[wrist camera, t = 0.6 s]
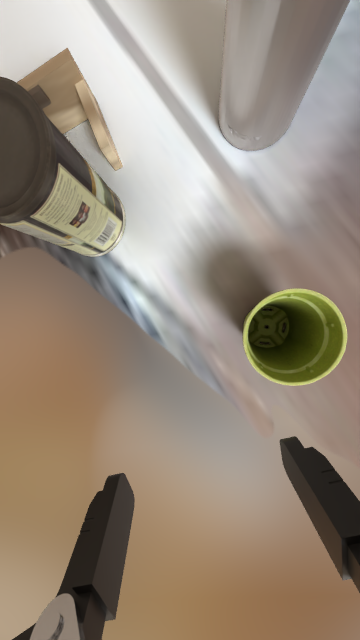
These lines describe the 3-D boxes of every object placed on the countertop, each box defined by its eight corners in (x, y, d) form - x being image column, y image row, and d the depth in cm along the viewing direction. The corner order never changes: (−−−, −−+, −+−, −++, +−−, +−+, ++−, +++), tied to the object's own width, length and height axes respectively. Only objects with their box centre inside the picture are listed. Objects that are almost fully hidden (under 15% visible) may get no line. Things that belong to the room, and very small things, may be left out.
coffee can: (64, 179, 29) (-66, 68, 15) (131, 189, 28) (57, 79, 14) (56, 251, 30) (-71, 209, 16) (119, 263, 29) (41, 229, 15)
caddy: (15, 153, 30) (-33, 116, 24) (97, 102, 27) (67, 47, 21) (39, 212, 30) (-2, 190, 24) (122, 166, 28) (100, 130, 22)
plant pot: (305, 292, 26) (353, 288, 18) (299, 361, 27) (343, 389, 19) (233, 291, 27) (245, 288, 19) (230, 357, 28) (241, 382, 20)
